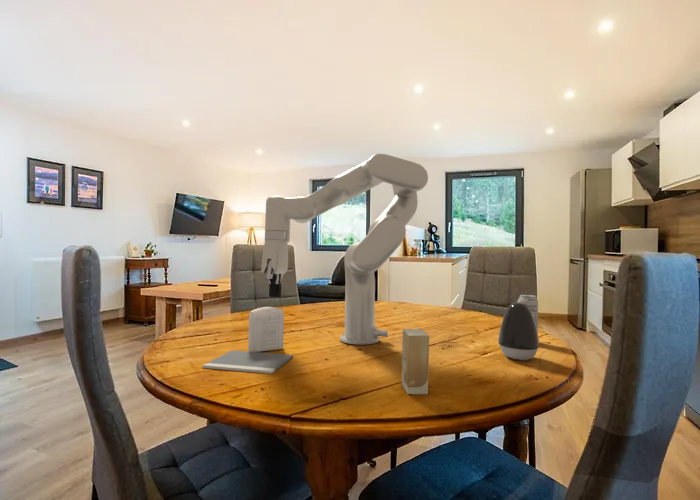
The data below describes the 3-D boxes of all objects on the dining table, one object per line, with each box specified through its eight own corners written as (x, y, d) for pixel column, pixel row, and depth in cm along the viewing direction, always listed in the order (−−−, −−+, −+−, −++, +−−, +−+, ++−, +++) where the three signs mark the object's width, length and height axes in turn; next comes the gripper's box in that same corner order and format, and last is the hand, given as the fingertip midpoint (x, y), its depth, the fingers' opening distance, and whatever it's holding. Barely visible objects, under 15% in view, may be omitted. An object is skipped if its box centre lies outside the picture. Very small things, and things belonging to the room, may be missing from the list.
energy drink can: (538, 341, 123) (539, 295, 123) (536, 345, 118) (537, 297, 118) (518, 338, 127) (519, 294, 126) (515, 342, 121) (516, 295, 121)
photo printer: (279, 346, 114) (280, 304, 114) (285, 349, 110) (286, 306, 110) (246, 350, 108) (246, 307, 108) (251, 354, 104) (251, 309, 104)
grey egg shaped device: (544, 357, 105) (544, 302, 105) (531, 365, 97) (532, 306, 97) (506, 350, 112) (507, 299, 112) (492, 357, 104) (493, 302, 104)
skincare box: (400, 384, 83) (401, 328, 83) (420, 383, 83) (421, 328, 83) (407, 395, 76) (408, 334, 76) (429, 395, 77) (429, 334, 76)
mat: (292, 357, 102) (292, 354, 102) (271, 373, 88) (271, 371, 88) (231, 352, 106) (231, 350, 106) (202, 367, 92) (202, 365, 92)
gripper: (275, 237, 124) (273, 293, 124) (254, 235, 110) (252, 298, 110) (297, 238, 123) (295, 295, 123) (279, 236, 108) (276, 300, 108)
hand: (274, 296), depth 116 cm, fingers closed
